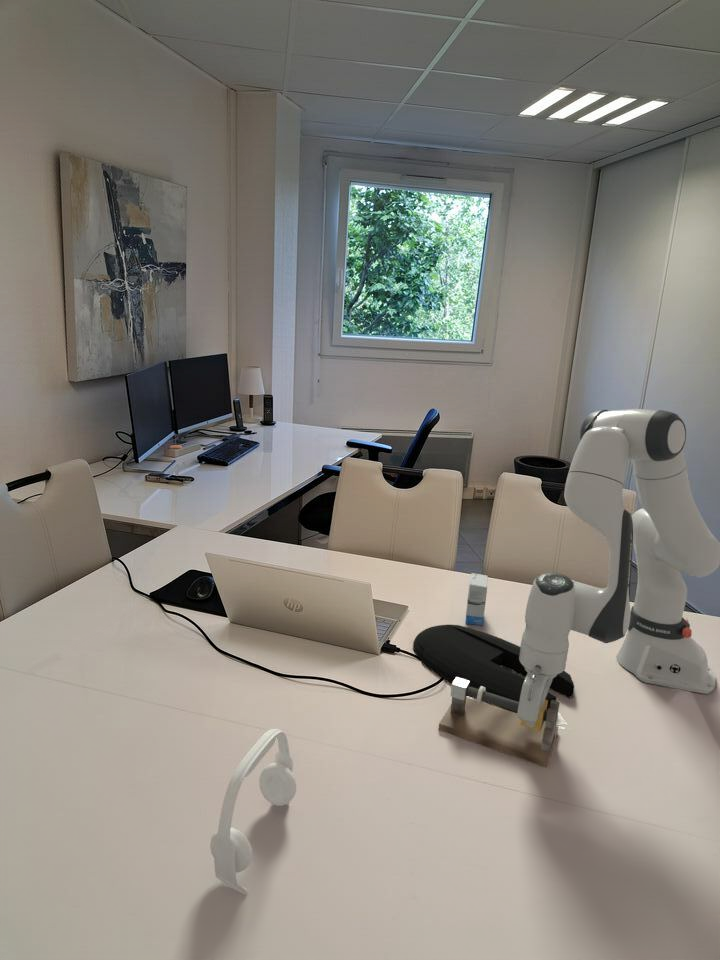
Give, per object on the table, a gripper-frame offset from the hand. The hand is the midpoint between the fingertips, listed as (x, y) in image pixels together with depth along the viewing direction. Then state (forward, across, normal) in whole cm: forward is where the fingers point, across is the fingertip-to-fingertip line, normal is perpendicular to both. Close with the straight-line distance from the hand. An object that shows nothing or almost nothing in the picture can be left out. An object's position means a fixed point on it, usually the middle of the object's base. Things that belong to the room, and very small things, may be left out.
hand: (533, 716), depth 132 cm
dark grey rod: (+1, 0, +5) cm, 5 cm away
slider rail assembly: (+6, 0, +6) cm, 9 cm away
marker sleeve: (+1, 0, 0) cm, 1 cm away
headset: (+6, -48, +34) cm, 59 cm away
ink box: (+6, +46, +26) cm, 53 cm away
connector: (+5, 0, +15) cm, 16 cm away
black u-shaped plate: (+7, +23, +15) cm, 28 cm away
